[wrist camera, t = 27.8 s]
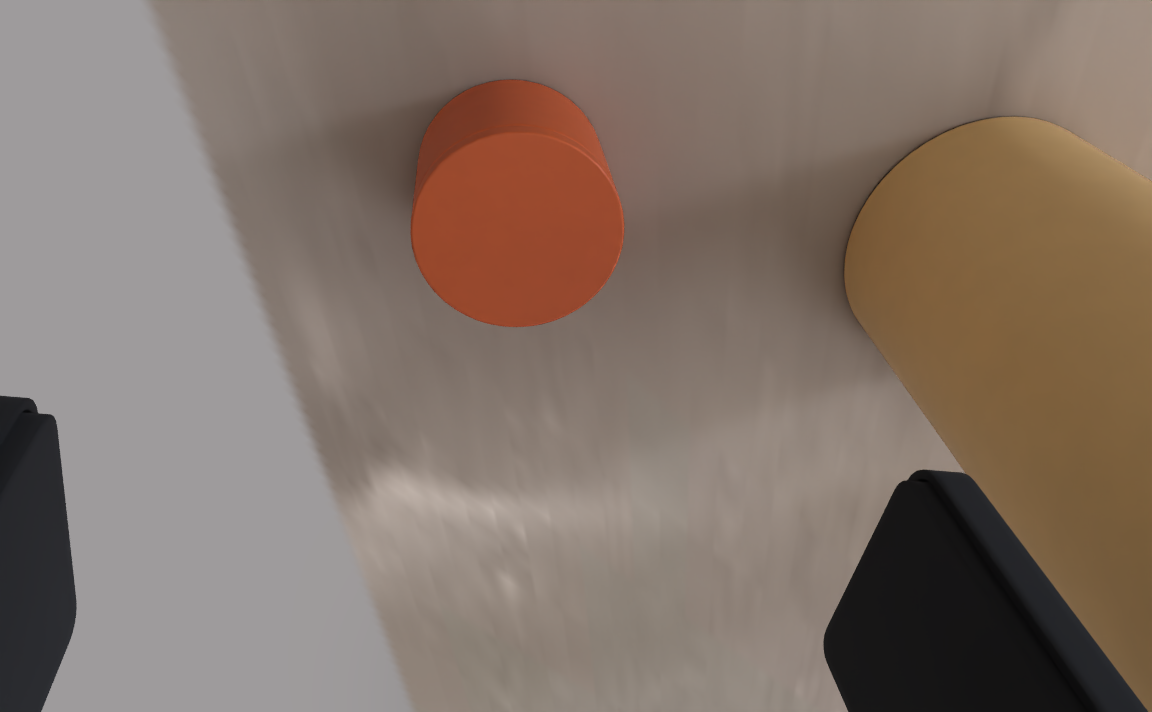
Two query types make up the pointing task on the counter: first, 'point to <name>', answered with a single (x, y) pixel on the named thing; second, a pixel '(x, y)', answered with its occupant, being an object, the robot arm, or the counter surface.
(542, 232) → the cap
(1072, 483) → the sauce bottle
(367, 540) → the counter surface
